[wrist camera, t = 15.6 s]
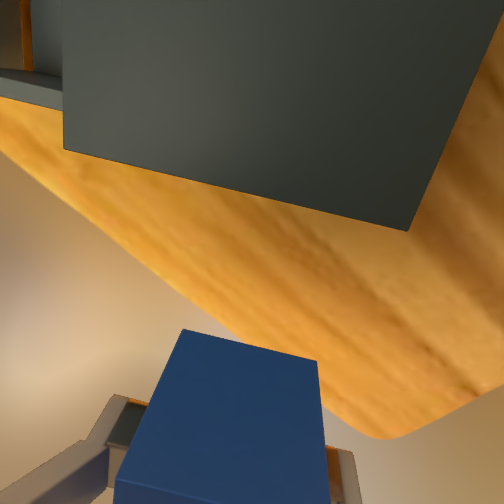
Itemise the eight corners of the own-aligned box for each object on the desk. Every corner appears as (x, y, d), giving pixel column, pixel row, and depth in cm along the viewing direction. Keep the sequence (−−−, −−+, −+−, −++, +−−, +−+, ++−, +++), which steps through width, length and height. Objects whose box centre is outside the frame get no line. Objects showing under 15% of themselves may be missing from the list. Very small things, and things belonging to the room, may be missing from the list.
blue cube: (167, 421, 14) (105, 586, 9) (182, 328, 12) (114, 478, 7) (282, 449, 14) (279, 627, 9) (317, 360, 12) (334, 531, 7)
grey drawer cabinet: (147, 130, 23) (62, 149, 14) (168, -130, 17) (54, -334, 9) (366, 182, 23) (408, 232, 14) (455, -65, 17) (601, -212, 9)
